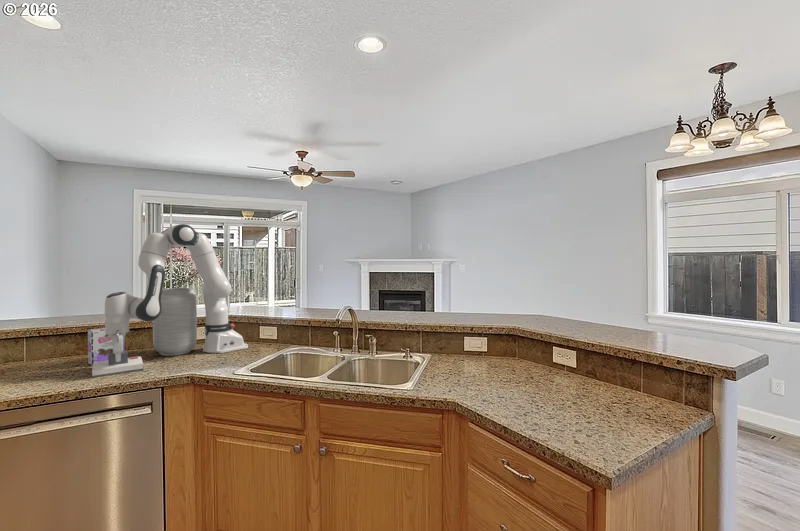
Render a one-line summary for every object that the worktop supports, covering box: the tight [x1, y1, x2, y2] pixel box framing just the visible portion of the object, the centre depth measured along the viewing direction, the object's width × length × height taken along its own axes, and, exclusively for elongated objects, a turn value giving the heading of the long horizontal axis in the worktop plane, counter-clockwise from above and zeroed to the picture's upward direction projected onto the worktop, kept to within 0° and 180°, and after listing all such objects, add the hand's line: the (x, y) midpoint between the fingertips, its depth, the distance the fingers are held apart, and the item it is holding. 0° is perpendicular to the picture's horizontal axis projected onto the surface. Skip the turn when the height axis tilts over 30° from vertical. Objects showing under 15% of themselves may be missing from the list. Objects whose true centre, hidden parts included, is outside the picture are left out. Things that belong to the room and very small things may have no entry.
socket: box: [91, 355, 144, 379], centre depth 178 cm, size 18×16×4 cm
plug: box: [108, 350, 129, 365], centre depth 178 cm, size 7×6×7 cm
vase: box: [152, 287, 198, 357], centre depth 209 cm, size 20×20×34 cm
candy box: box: [87, 327, 127, 367], centre depth 191 cm, size 14×6×16 cm, turn 143°
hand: (118, 359), depth 178 cm, fingers open, 7 cm apart
